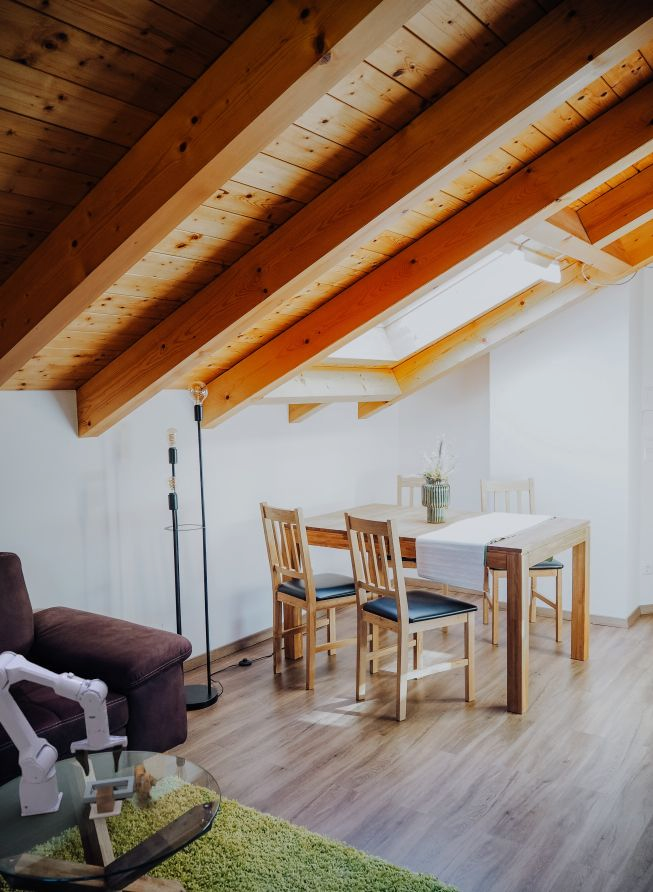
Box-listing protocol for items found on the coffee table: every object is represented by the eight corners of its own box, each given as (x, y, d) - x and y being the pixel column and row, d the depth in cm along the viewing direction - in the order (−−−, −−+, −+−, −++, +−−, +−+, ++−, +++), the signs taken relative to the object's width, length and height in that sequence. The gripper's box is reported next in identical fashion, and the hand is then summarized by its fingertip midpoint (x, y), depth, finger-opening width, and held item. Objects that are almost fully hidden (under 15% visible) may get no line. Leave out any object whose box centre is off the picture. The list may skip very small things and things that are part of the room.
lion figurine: (161, 804, 207) (158, 774, 206) (142, 811, 205) (138, 781, 203) (144, 777, 220) (141, 748, 218) (126, 783, 217) (123, 754, 215)
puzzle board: (83, 803, 209) (83, 798, 209) (87, 786, 216) (87, 781, 216) (132, 796, 211) (132, 791, 211) (135, 780, 218) (134, 775, 218)
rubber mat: (89, 819, 202) (89, 817, 202) (92, 806, 208) (92, 804, 208) (120, 814, 203) (120, 813, 203) (122, 801, 209) (122, 800, 209)
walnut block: (97, 813, 204) (95, 797, 203) (99, 804, 207) (97, 787, 207) (112, 811, 204) (111, 794, 203) (114, 802, 208) (112, 785, 207)
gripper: (126, 715, 209) (131, 760, 212) (72, 721, 208) (77, 766, 210) (123, 729, 202) (128, 775, 205) (67, 735, 201) (72, 782, 203)
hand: (102, 772), depth 207 cm, fingers open, 7 cm apart
